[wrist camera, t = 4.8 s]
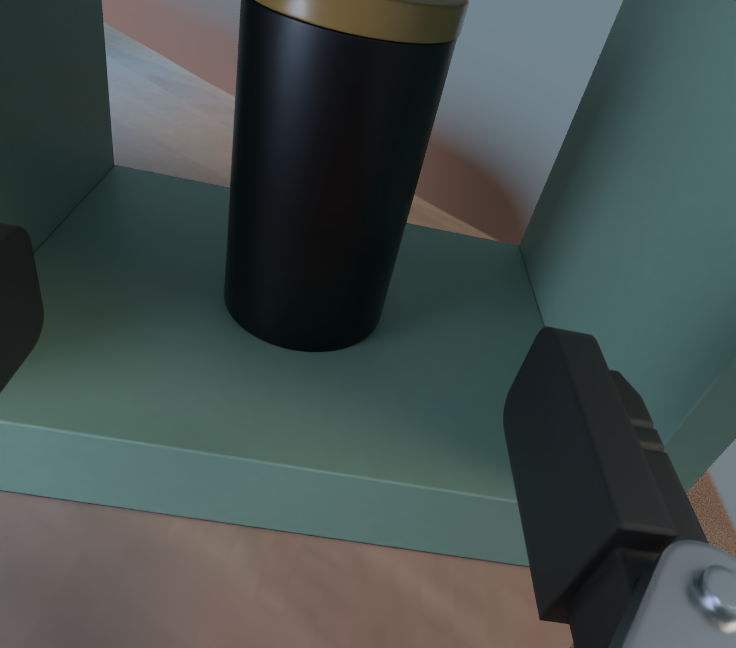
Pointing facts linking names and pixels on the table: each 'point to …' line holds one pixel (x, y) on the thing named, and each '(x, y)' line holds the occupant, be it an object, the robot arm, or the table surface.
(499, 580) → the table surface
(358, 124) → the black tea tin
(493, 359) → the shelf
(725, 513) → the table surface
